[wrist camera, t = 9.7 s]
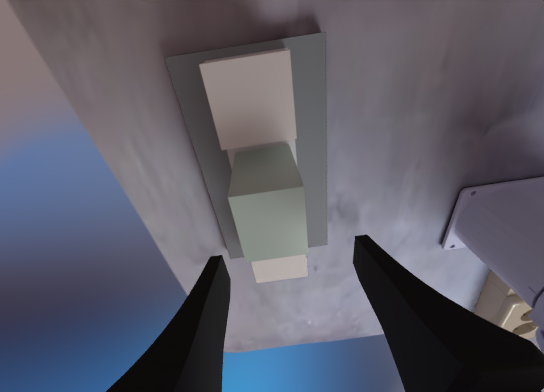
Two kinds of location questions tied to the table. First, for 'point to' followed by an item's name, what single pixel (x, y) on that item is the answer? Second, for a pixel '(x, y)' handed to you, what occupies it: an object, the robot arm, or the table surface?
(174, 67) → the rail board
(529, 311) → the electrical outlet
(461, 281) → the table surface
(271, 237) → the block
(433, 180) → the table surface
